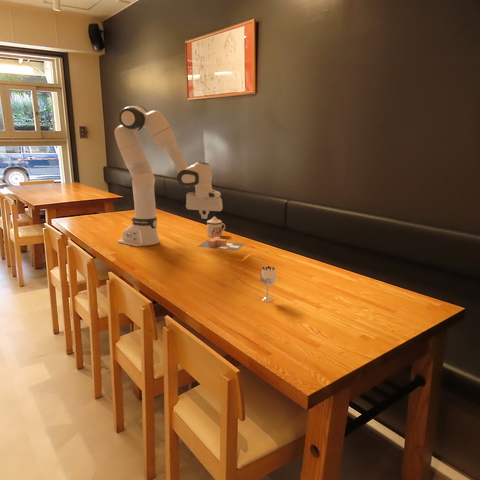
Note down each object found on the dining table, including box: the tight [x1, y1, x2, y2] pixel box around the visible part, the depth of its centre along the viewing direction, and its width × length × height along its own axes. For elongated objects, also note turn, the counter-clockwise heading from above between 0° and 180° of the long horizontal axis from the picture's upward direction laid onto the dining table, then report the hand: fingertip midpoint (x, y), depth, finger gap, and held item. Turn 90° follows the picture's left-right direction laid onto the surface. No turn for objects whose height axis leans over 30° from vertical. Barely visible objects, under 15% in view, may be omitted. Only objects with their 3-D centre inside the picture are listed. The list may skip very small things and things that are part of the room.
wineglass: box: [259, 265, 277, 303], centre depth 143 cm, size 6×6×12 cm
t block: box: [208, 236, 228, 247], centre depth 214 cm, size 8×10×3 cm
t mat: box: [197, 239, 245, 252], centre depth 214 cm, size 22×15×1 cm
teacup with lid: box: [206, 216, 226, 238], centre depth 234 cm, size 12×9×12 cm
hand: (204, 218), depth 213 cm, fingers closed
